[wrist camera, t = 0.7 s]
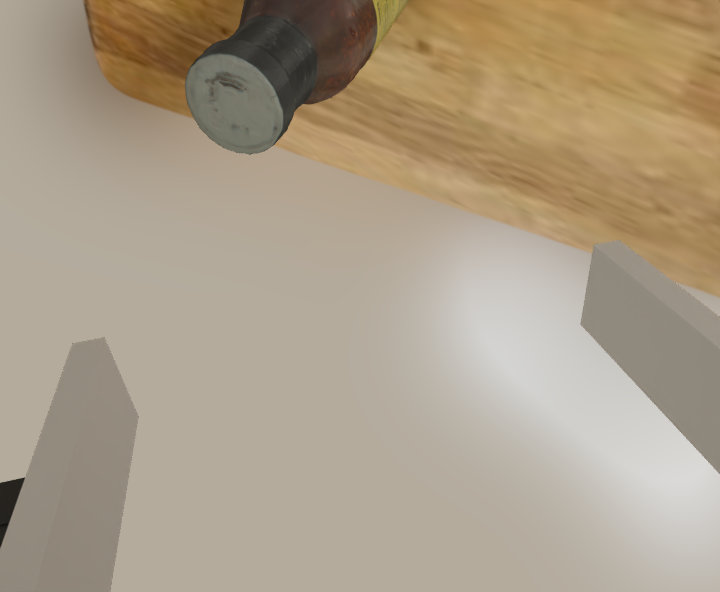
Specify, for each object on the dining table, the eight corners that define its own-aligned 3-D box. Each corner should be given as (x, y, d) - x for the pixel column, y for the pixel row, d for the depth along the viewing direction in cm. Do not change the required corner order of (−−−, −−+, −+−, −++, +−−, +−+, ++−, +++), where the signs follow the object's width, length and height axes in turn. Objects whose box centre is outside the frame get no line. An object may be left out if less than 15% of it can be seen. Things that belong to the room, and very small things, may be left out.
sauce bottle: (365, -127, 32) (203, -46, 17) (444, -42, 33) (355, 94, 19) (302, -29, 36) (131, 99, 22) (375, 42, 38) (261, 203, 23)
